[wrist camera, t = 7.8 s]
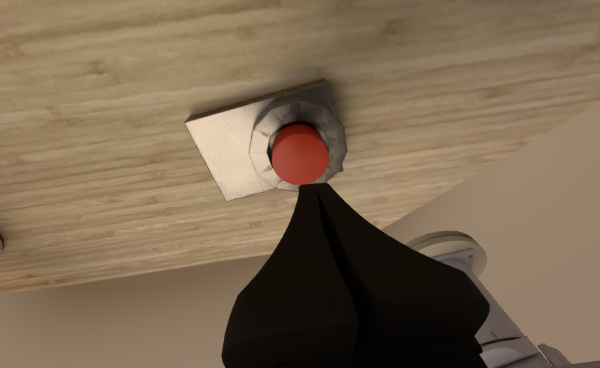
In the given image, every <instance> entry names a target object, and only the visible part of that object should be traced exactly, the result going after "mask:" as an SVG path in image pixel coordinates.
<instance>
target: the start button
mask: <svg viewBox="0 0 600 368" xmlns="http://www.w3.org/2000/svg"><path fill="white" fill-rule="evenodd" d="M328 162H329V153H328V150H327V148H326V145H325V143H324V141H323V139H322V137H321V135H320V134H319V133H318V131H316V130H315V129H314V128H312V127H310V126H307V125H303V124H295V125H291V126H288V127H286V128H284V129H283V130H281V131H280V132H279V133H278V134H277V136H276V137H275V139H274V141H273V145H272V166H273V169H274V171H275V173H276V174H277V176H278V177H279V178H280V179H282V180H283V181H285V182H287V183H290V184H293V185H301V184H309V183H311V182H314V181H315V180H317V179H318V178H320V177H321V176H322V175H323V173H324V172H325V170H326V168H327V166H328Z"/></svg>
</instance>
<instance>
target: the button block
mask: <svg viewBox="0 0 600 368" xmlns="http://www.w3.org/2000/svg"><path fill="white" fill-rule="evenodd" d="M184 124H185V126H186V128H187V129H188V131H189V133H190V135H191V137H192V139H193V141H194V142H195V144H196V146H197V148H198V150H199V152H200V154H201V156H202V157H203V159H204V161H205V163H206V165H207V167H208V169H209V170H210V172H211V174H212V176H213V178H214V180H215V182H216V184H217V185H218V187H219V189H220V191H221V193H222V195H223V197H224V198H225V200H226V201H230V200H234V199H238V198H242V197H246V196H250V195H253V194H257V193H261V192H265V191H269V190H273V189H276V188H277V189H282V190H288V191H293V192H299V186H300V185H293V184H290V183H287V182H285V181H283V180H282V179H280V178H279V177H278V176H277V174H276V173H275V171H274V169H273V166H272V145H273V141H274V139H275V137H276V136H277V134H278V133H279V132H280V131H281V130H283V129H284V128H286V127H288V126H291V125H295V124H303V125H307V126H310V127H312V128H314V129H315V130H316V131H318V133H319V134H320V135H321V137H322V139H323V141H324V143H325V145H326V148H327V150H328V153H329V162H328V166H327V168H326V170H325V172H324V173H323V175H322V176H321V177H320V178H318V179H317V180H315V181H314V182H311V183H309V184H314V183H325V182H327V181H328V180H329V179H330V178H331V177H333V176H334V175H335V174H336V173H338V172H342V171H343V166H342V162H343V160H344V157H345V155H346V153H347V144H346V138H345V131H344V127H343V125H342V124H341V122H340V121H339V120H338V118H337V117H336V116H335V115H334V114H333V108H332V102H331V96H330V91H329V85H328V81H327V80H326V79H324V78H323V79H320V80H316V81H313V82H309V83H306V84H302V85H299V86H295V87H292V88H288V89H285V90H281V91H278V92H274V93H271V94H267V95H264V96H260V97H257V98H253V99H250V100H246V101H243V102H239V103H236V104H232V105H229V106H225V107H222V108H218V109H215V110H211V111H208V112H204V113H201V114H197V115H194V116H190V117H189V118H188V119H187V120H186V121H185V122H184Z"/></svg>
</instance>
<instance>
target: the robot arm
mask: <svg viewBox="0 0 600 368" xmlns="http://www.w3.org/2000/svg"><path fill="white" fill-rule="evenodd" d="M475 253H476V251H475V250H474V249H473V248H469V249H464V250H460V251H456V252H452V253H447V254H443V255H439V256H435V257H428V256H426V255H424V254H422V253H420V252H418V251H416V250H414V249H412V248H410V247H408V246H406V245H404V244H402V243H400V242H399V241H397V240H395V239H393V238H392V237H390V236H388V235H387V234H385V233H384V232H382V231H381V230H379V229H378V228H376V227H375V226H373V225H372V224H371V223H369V222H368V221H367V220H365V219H364V218H363V217H362V216H360V215H359V214H358V213H357V212H356V211H355V210H353V209H352V208H351V207H350V206H349V205H348V204H347V203H346V202H345V201H344V200H343V199H342V198H341V197H340V196H339V195H338V194H337V193H336V192H335V191H334V190H333V189H332V187H331V186H330V185H329V184H328V183H314V184H301V185H300V186H299V195H298V200H297V203H296V207H295V210H294V213H293V215H292V218H291V220H290V223H289V225H288V227H287V229H286V231H285V233H284V235H283V237H282V239H281V241H280V242H279V244H278V246H277V247H276V249H275V250H274V252H273V253H272V255H271V257H270V258H269V259H268V260H267V262H266V263H265V264H264V266H263V267H262V268H261V270H260V271H259V272H258V274H257V275H256V276H255V277H254V278H253V279H252V280H251V281H250V282H249V284H248V285H247V286H246V287H245V288H244V289H243V290H242V291H241V292H240V294H239V295H238V296H237V299H236V301H235V304H234V306H233V309H232V311H231V314H230V317H229V321H228V324H227V328H226V332H225V337H224V343H223V350H222V355H221V356H222V361H223V364H224V366H225V368H600V361H593V362H586V363H578V364H571V363H570V362H569V361H568V360H567V358H566V357H565V356H564V355H563V354H562V353H561V352H560V351H559V350H557V349H555V348H553V347H548V346H547V345H546V344H540V345H538V347H539V349H540V350H541V351H542V352H543V354H544V355H545V356H546V357H547V358H548V361H549V362H550V363H551V365H552V366H553V367H552V366H551V365H550V364H549V363H548V362H547V360H546V359H545V358H544V357H543V355H542V354H541V353H540V352H539V351H538V349H537V348H536V347H535V346H534V345H533V343H532V342H531V341H530V340H529V339H528V337H527V336H524V334H523V333H522V332H521V331H520V329H519V328H518V327H517V326H516V324H515V323H514V322H513V321H512V320H511V319H510V317H509V316H508V315H507V314H506V312H504V310H503V309H502V307H501V306H500V305H499V304H498V303H497V301H496V300H495V299H494V298H493V297H492V295H491V294H490V293H489V292H488V290H487V289H486V288H485V287H484V286H483V284H482V283H481V282H480V281H479V279H478V278H477V277H476V276H475V275H474V273H473V272H472V271H471V269H472V265H473V261H474V257H475Z"/></svg>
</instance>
